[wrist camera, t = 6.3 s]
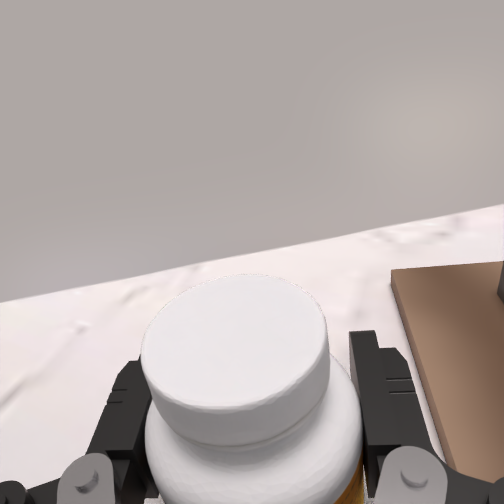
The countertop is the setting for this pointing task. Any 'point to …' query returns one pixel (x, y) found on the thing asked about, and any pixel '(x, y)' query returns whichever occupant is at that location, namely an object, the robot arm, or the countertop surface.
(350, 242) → the countertop surface
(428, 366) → the dock board
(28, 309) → the countertop surface
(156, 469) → the supplement bottle
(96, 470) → the robot arm
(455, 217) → the countertop surface
